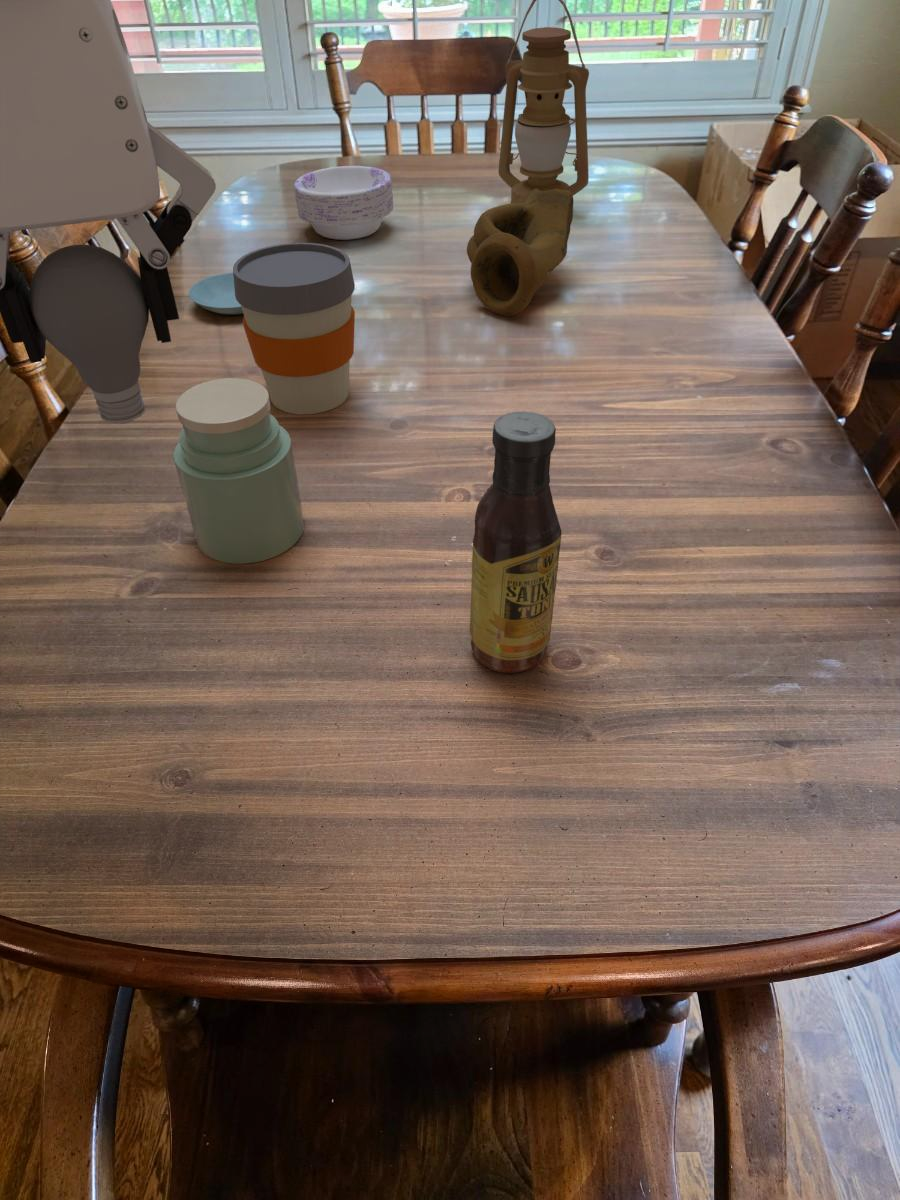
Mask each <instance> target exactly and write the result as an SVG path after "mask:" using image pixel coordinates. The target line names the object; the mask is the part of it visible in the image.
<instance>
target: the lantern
mask: <svg viewBox="0 0 900 1200" xmlns="http://www.w3.org/2000/svg"><path fill="white" fill-rule="evenodd" d="M558 1H559V3H560V4H561V5H562V6H563V9H564V11H565V13H566V15H567V18H568V21H569V24H570V29H571V30H569V29H566V28H562V27H553V26H552V27H549V26H548V27H547V26H544V27H536V28H531V29H528V30H525V31H523V32H522V30H523V28H524V25H525V22H526V20H527V17H528V15H529V13H530V12H531V10H532V8H533V6H534V5H535V3H536V2H537V0H532V1H531V3H530V5H529V7H528V9H527V10H526V12H525V15H524V16H523V17H524V18H523V20H522V22H521V26H520V28H519V32H518V34H517V37H516V40H515V42H514V44H513V47H512V49H511V51H510V55H509V58H508V60H507V62H505V63H504V73H505V81H506V85H505V87H506V88H505V97H504V107H503V109H504V110H503V119H502V129H501V139H500V150H499V160H498V175H499V177H500V179H501V180H502V181H503V182H504V183H505V184H506V185H507V186H508V187H509V188H510V193H511V194H510V203H509V204H512V203H516V202H517V201H518V200H519V199H521V198H522V197H525V196H527V195H528V194H529V193H531V192H532V191H533V190H534V189H536V188H537V189H538V190H539V191H550V190H553V189H560V190H563V191H566V190H568V191H570V192H571V194H572V196H573V197H574V196H575V195H576V194H578V193H579V192H581V191H582V190H584V189H585V188H586V187H587V186H588V184H589V155H588V154H589V153H588V152H589V150H588V149H589V148H588V146H589V145H588V123H587V122H588V121H587V96H586V95H587V93H586V91H587V84H588V80H589V76H590V71H589V69H588V68H586V65H585V63H584V62H583V58H582V53H581V51H580V45H579V41H578V37H577V33H576V29H575V26H574V23H573V20H572V17H571V13H570V11H569V9H568V7H567V5H566V3H565V1H564V0H558ZM520 36H522V37H521V39H522V41H523V42H526V43H527V42H528V43H527V46H525V48H526V49H527V50H526V51H524V52H523V53H522V60H513V59H512V56H513V54H514V52H515V49H516V47H517V44H518V41H519V39H520ZM572 36H573V39H574V43H575V46H576V51H577V53H578V57H579V61H580V63H581V66H580V65H575V64H570V57H569V56H570V52H569V51H568V50H566V49H565V48H567V45H566V44H565V42H566V41H568V40H570V39H571V38H572ZM520 77H521V81H520V83H519V79H520ZM571 88H573V92H574V93H573V94H574V97H573V98H574V99H573V100H574V118H572V117H571V116H570V115H569V114H567V113H566V108H565V107H564V105H563V103H564V99H565V93H566V91H567V90H570V89H571ZM518 90H520V91H522V92H524V98H525V105H526V106H524V109H523V110H522V113H519V114H518V118H517V122H516V124H515V117H516V116H515V115H516V114H515V113H516V105H517V96H518V95H517V94H518ZM570 121H572V122H570ZM573 124H575V127H574V128H575V152H568V151H567V148H568V145H569V142H570V138H571V133H572V126H571V125H573ZM514 125H515V127H514ZM513 134H514V136H513ZM513 137H514V138H515V142H516V146H517V151H518V154H516V156H515V157H514V153H513V152H512V147H513V145H512V144H513ZM566 154H567V155H574V156H575V158H574V159H573V161H572V166H573V167H574V171H575V172H576V181H575V182H573V183H572V184H570V185H569V184H568V183H567V182H565V181H563V180H559V179H557V178H558V177H559V176H560V175H561V174H563V173H564V165H563V162H564V158H565V155H566ZM518 157H519V160H520V164H521V166H520V167H519V173H520V174H521V175H522V176H525V177H527V179H523V180H520V179H518V178H517V177H516V176H515V175H514V174H513V173H512V172H511V168H510V165H513V163H514V160H516V159H518Z"/></svg>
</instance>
